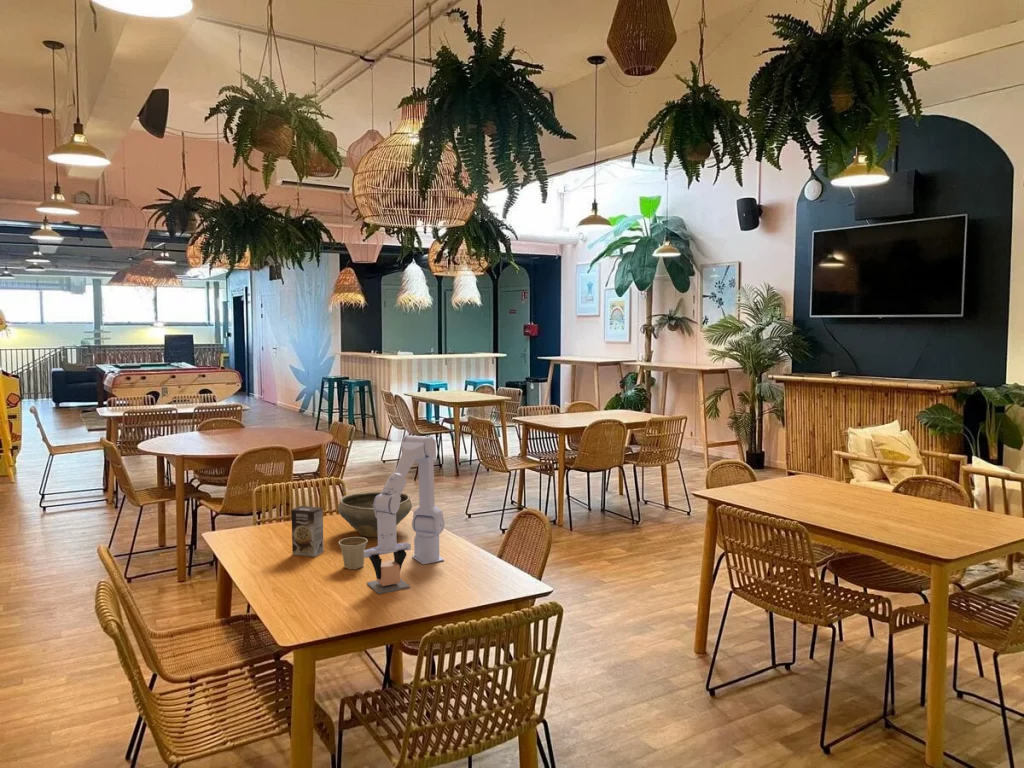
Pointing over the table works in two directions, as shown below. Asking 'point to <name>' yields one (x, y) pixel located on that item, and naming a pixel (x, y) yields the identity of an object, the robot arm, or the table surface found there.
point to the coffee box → (307, 531)
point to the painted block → (389, 573)
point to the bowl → (368, 511)
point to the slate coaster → (387, 586)
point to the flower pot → (353, 551)
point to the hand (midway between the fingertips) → (387, 576)
